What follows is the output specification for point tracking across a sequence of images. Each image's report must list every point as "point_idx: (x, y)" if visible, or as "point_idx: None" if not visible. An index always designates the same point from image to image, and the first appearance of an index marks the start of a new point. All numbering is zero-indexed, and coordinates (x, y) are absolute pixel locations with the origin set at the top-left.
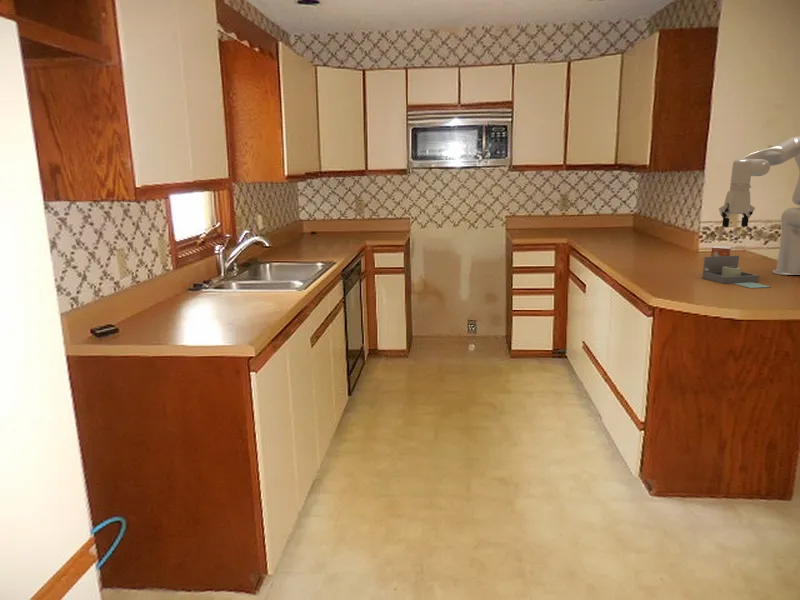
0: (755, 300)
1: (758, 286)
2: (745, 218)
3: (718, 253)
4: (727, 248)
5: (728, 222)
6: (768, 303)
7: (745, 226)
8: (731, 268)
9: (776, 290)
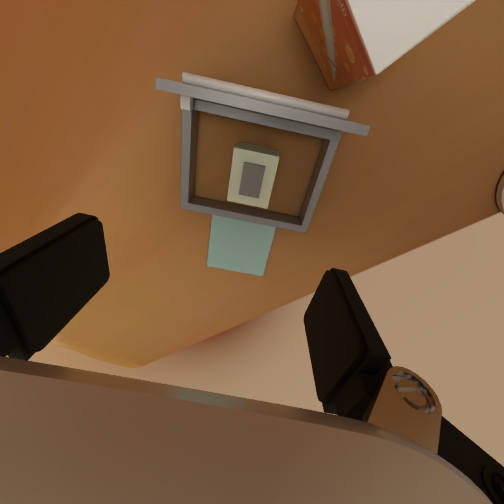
0: (130, 323)
1: (238, 264)
2: (326, 383)
3: (331, 11)
4: (372, 52)
5: (67, 313)
6: (136, 339)
7: (310, 309)
8: (231, 194)
9: (244, 296)
